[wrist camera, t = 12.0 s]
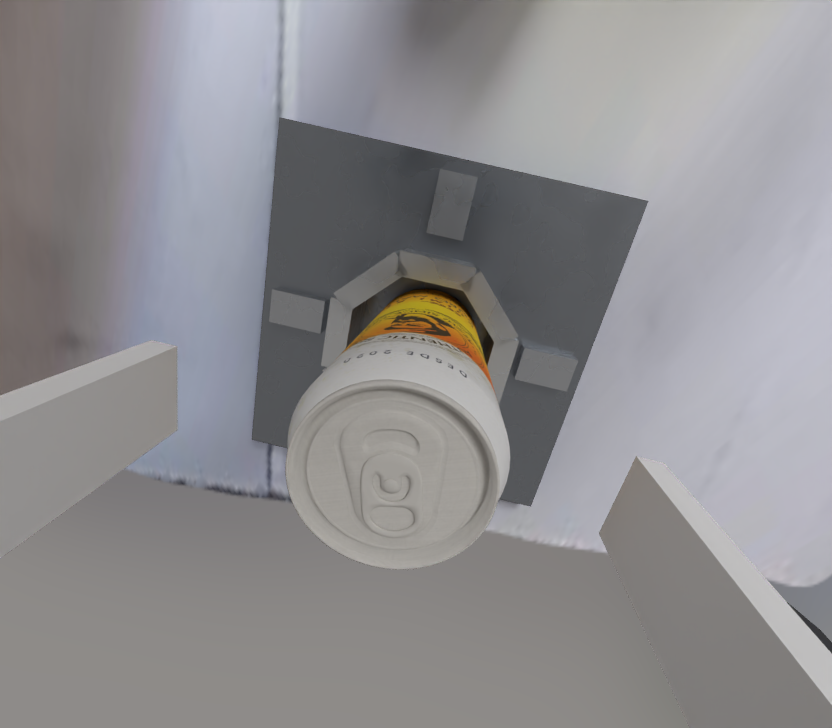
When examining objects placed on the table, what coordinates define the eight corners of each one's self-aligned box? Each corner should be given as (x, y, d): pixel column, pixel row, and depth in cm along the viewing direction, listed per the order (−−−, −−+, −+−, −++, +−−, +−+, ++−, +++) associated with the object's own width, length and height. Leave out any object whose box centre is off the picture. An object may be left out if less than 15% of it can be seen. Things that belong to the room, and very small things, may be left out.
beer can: (478, 287, 23) (527, 369, 8) (474, 385, 24) (508, 589, 10) (375, 287, 23) (253, 363, 9) (378, 383, 25) (283, 574, 11)
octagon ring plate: (288, 123, 22) (246, 95, 17) (637, 202, 21) (686, 194, 17) (259, 431, 28) (223, 467, 24) (527, 495, 28) (541, 544, 24)
